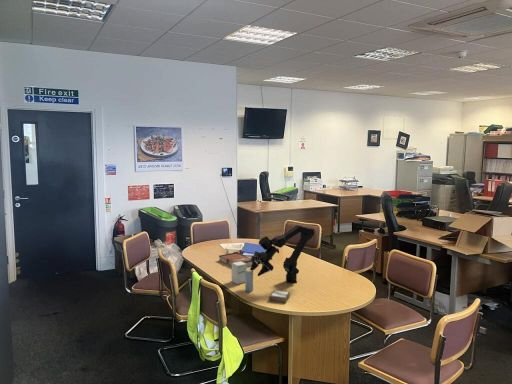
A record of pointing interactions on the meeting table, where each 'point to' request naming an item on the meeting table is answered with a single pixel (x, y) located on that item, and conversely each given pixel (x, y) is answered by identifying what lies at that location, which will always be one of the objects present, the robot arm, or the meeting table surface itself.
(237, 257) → the book
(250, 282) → the slate pillar
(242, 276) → the supplement box
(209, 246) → the meeting table surface
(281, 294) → the foundation block
